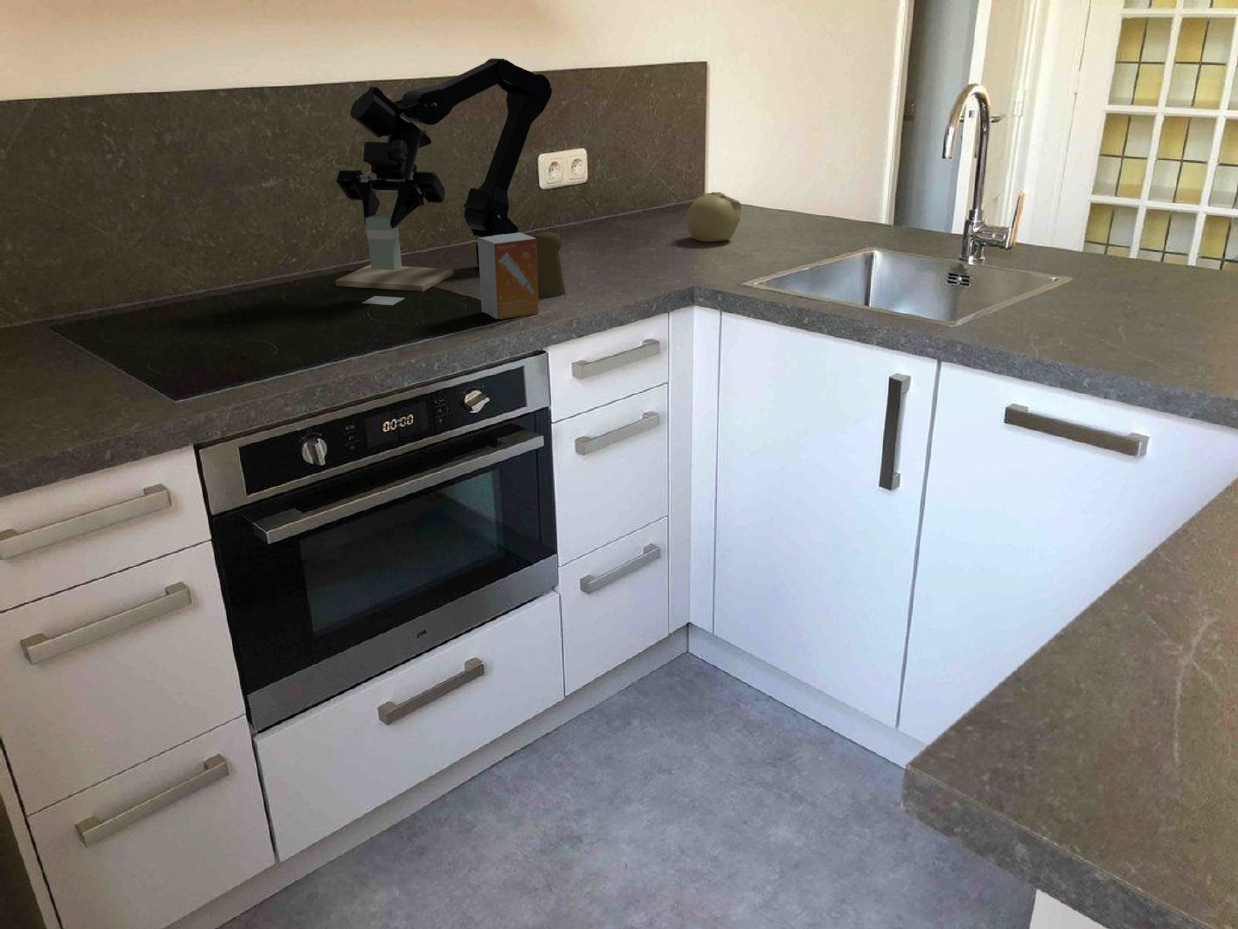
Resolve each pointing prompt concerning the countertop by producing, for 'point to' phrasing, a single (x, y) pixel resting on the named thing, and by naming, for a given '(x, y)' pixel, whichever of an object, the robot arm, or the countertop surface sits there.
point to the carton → (383, 243)
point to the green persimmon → (713, 217)
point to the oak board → (395, 278)
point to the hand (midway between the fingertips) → (379, 226)
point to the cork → (549, 265)
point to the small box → (508, 275)
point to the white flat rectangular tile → (383, 300)
